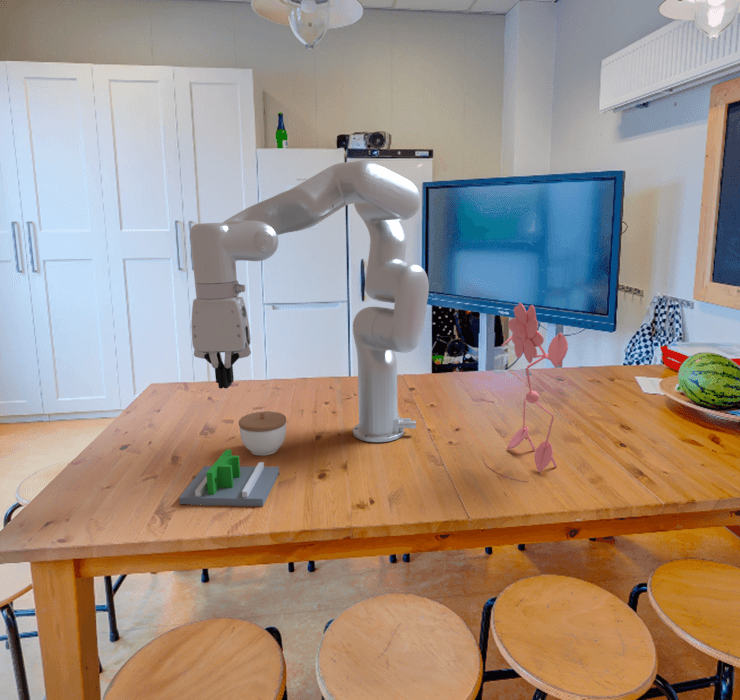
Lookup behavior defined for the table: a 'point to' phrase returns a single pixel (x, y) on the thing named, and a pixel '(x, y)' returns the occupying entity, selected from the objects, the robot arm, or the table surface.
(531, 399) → the figurine
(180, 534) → the table surface
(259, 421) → the lidded jar
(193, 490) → the rail board
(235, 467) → the pipe clamp
